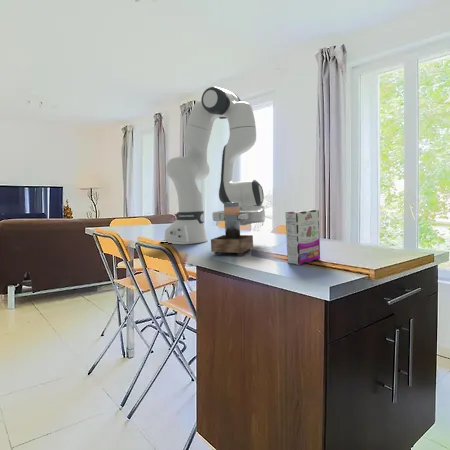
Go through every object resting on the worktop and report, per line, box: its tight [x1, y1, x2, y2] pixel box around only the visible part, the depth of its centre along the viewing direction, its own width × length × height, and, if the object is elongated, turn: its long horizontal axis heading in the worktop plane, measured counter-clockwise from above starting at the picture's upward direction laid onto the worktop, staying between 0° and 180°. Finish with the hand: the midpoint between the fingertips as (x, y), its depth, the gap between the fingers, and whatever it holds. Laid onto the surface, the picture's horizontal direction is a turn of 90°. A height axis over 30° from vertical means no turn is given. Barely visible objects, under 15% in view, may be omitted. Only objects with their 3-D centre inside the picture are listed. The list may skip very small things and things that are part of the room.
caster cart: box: [210, 234, 254, 257], centre depth 134 cm, size 12×12×6 cm
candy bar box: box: [285, 208, 321, 266], centre depth 114 cm, size 11×5×16 cm, turn 129°
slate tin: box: [223, 202, 241, 239], centre depth 133 cm, size 6×6×13 cm
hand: (231, 217), depth 132 cm, fingers closed on slate tin, 5 cm apart
